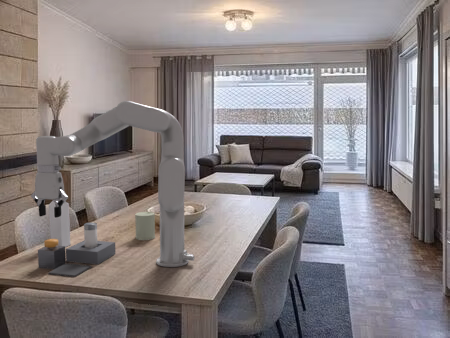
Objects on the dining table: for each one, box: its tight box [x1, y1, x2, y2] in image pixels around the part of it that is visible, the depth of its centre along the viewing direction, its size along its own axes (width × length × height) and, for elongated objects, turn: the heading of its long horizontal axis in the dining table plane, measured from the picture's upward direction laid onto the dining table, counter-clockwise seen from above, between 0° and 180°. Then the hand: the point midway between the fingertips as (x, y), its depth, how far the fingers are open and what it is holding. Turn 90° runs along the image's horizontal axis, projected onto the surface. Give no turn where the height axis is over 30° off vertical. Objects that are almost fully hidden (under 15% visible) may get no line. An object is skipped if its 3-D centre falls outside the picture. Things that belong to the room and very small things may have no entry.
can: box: [134, 211, 156, 241], centre depth 215 cm, size 9×9×12 cm
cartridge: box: [83, 221, 98, 248], centre depth 185 cm, size 5×5×14 cm
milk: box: [48, 198, 71, 248], centre depth 201 cm, size 6×6×22 cm
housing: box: [65, 240, 117, 265], centre depth 185 cm, size 14×14×5 cm
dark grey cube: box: [37, 246, 67, 270], centre depth 175 cm, size 7×7×7 cm
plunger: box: [43, 238, 58, 249], centre depth 175 cm, size 5×5×8 cm
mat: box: [48, 262, 93, 278], centre depth 170 cm, size 11×11×1 cm
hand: (50, 215), depth 173 cm, fingers open, 6 cm apart
